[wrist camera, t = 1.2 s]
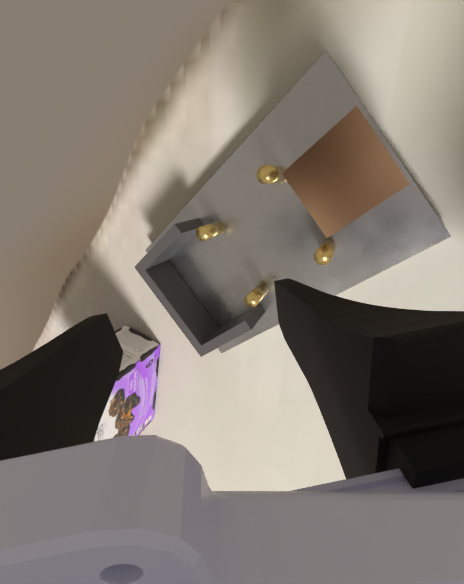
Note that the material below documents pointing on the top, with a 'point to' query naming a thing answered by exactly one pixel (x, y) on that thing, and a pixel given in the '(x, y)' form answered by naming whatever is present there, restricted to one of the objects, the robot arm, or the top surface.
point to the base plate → (291, 215)
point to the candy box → (131, 387)
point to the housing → (188, 294)
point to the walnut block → (344, 174)
